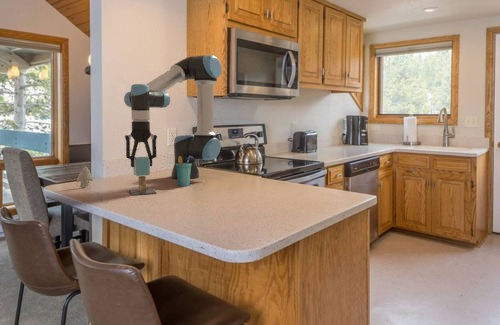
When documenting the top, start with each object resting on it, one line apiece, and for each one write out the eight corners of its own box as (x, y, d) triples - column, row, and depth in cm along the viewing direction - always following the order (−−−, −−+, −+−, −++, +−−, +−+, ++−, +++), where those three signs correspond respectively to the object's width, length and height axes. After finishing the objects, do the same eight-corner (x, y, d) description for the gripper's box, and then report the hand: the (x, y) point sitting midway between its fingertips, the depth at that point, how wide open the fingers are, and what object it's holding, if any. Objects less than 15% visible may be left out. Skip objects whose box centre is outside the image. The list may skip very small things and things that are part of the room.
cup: (200, 186, 188) (200, 155, 186) (187, 188, 182) (187, 156, 181) (182, 183, 198) (182, 153, 196) (169, 184, 192) (169, 154, 190)
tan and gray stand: (151, 189, 179) (151, 174, 178) (156, 193, 170) (156, 177, 169) (128, 191, 175) (128, 175, 174) (132, 195, 166) (132, 179, 165)
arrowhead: (78, 189, 179) (77, 167, 177) (75, 188, 180) (74, 167, 179) (94, 187, 184) (93, 166, 183) (92, 186, 186) (91, 165, 185)
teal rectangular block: (146, 173, 175) (146, 156, 174) (149, 175, 170) (148, 157, 169) (134, 174, 172) (134, 157, 172) (136, 175, 168) (136, 158, 167)
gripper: (159, 120, 176) (160, 172, 179) (117, 120, 168) (118, 174, 171) (163, 121, 169) (164, 174, 172) (119, 120, 161) (121, 176, 164)
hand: (141, 174), depth 171 cm, fingers closed on teal rectangular block, 5 cm apart
